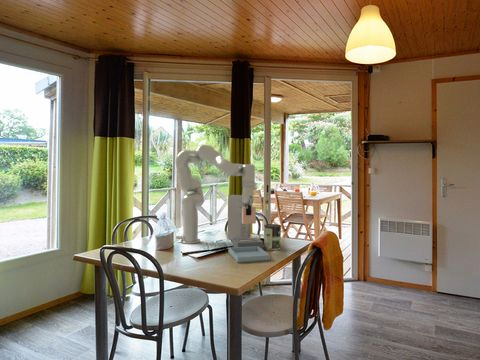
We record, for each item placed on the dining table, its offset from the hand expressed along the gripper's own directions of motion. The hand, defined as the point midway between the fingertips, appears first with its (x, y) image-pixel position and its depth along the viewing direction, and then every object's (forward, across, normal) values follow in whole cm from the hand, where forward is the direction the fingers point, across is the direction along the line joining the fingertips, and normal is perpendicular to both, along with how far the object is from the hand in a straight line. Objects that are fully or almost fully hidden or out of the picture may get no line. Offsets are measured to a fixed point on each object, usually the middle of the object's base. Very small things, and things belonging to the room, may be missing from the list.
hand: (247, 214), depth 205 cm
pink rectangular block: (+6, 0, +1) cm, 6 cm away
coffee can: (+21, +3, +15) cm, 26 cm away
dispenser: (+21, 0, 0) cm, 21 cm away
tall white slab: (+21, -24, +1) cm, 32 cm away
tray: (+21, +18, -5) cm, 28 cm away
